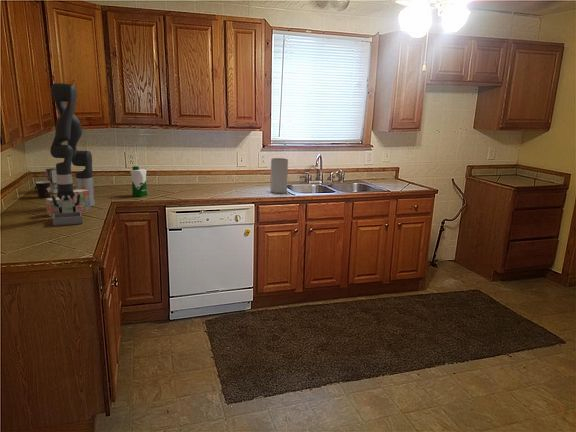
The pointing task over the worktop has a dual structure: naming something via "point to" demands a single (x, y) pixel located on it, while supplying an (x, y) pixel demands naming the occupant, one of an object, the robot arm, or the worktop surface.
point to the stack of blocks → (82, 207)
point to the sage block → (66, 206)
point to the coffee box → (52, 179)
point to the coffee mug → (43, 189)
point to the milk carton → (138, 182)
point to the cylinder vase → (279, 175)
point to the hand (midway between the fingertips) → (67, 213)
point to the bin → (67, 218)
